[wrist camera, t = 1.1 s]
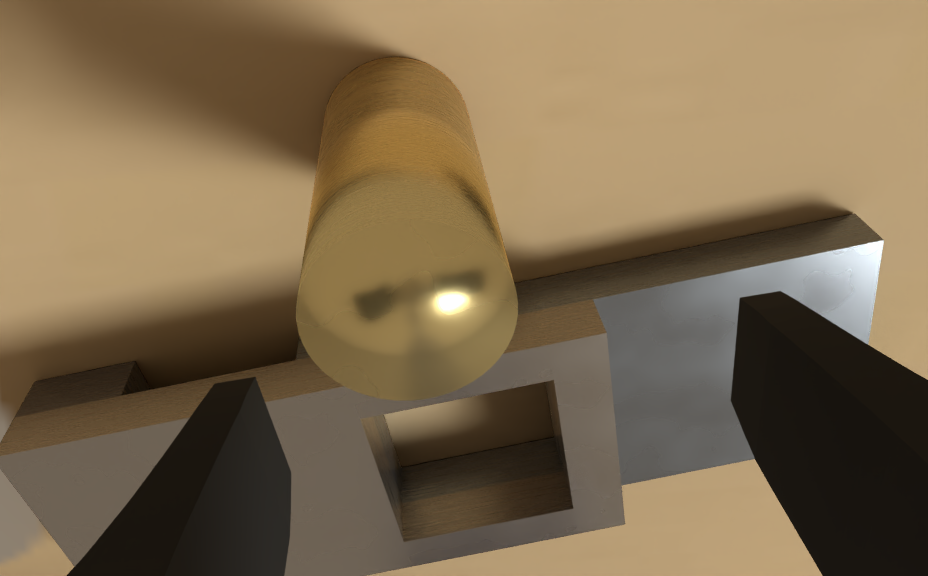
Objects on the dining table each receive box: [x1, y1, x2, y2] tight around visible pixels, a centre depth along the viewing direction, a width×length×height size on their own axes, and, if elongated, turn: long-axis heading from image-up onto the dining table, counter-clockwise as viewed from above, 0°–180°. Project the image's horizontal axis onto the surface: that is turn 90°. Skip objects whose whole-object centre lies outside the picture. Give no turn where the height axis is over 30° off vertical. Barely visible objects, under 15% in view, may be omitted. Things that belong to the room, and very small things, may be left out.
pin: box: [296, 57, 518, 401], centre depth 16 cm, size 4×4×8 cm
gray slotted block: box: [0, 214, 884, 576], centre depth 23 cm, size 24×8×3 cm, turn 100°
